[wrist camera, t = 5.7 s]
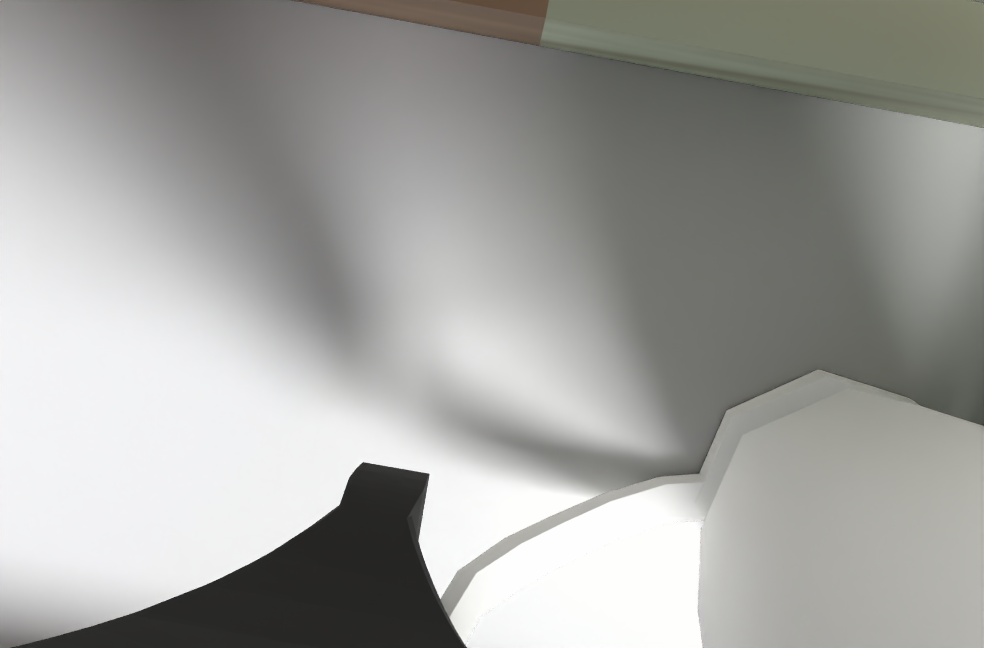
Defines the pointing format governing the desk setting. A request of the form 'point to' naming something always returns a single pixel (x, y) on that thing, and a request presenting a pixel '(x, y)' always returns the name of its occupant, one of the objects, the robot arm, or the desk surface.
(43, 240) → the desk surface
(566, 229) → the desk surface
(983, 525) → the cup
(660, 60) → the trap box
